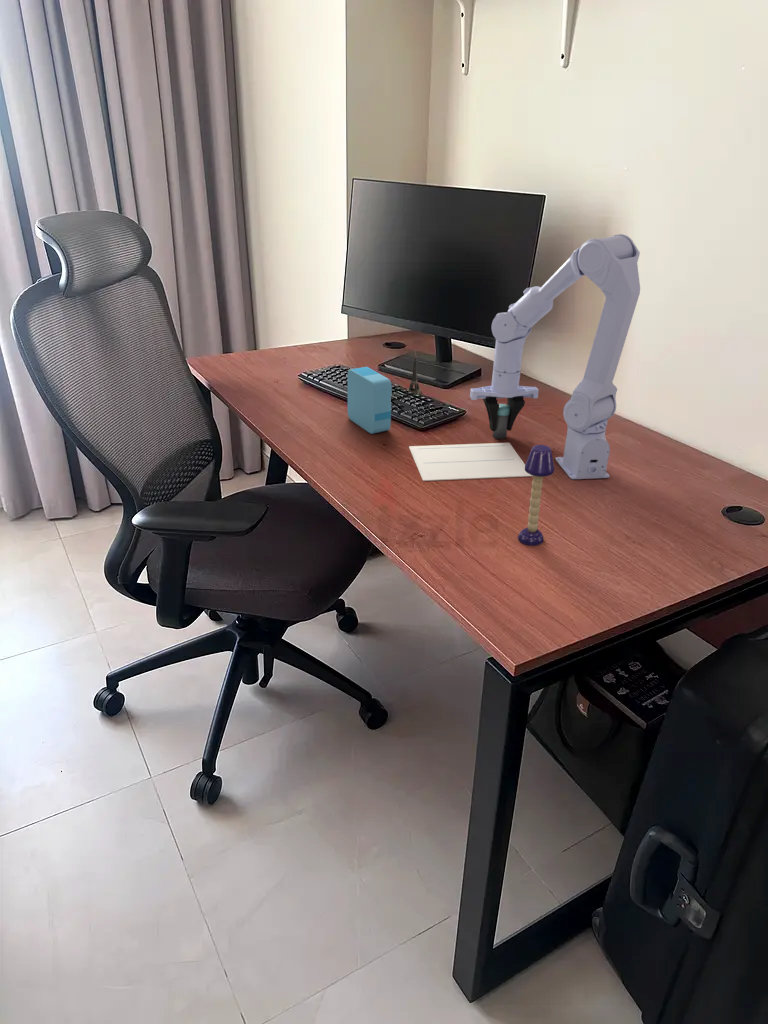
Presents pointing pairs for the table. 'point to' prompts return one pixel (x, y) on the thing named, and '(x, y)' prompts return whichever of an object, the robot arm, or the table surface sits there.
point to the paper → (468, 461)
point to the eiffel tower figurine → (414, 379)
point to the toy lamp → (536, 491)
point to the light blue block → (369, 399)
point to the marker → (502, 421)
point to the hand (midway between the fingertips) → (500, 429)
